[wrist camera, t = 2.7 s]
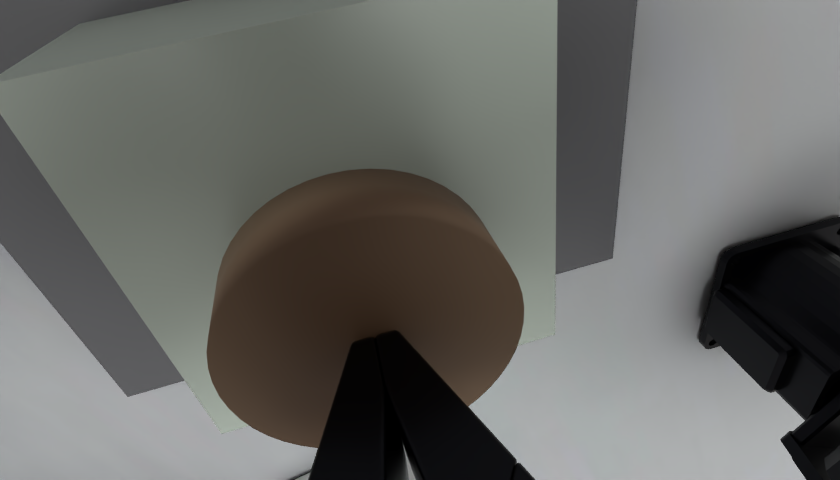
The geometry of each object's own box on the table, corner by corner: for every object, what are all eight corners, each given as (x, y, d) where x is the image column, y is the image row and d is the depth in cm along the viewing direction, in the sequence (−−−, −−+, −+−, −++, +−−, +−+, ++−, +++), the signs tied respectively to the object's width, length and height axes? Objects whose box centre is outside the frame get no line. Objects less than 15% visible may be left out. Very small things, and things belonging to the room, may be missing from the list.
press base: (645, -216, 12) (848, -279, 8) (606, 251, 21) (692, 343, 17) (-223, -54, 10) (-585, -19, 6) (130, 386, 19) (87, 530, 15)
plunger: (419, 61, 13) (518, 175, 7) (446, 236, 16) (528, 400, 11) (198, 113, 12) (140, 275, 7) (274, 283, 15) (272, 479, 10)
